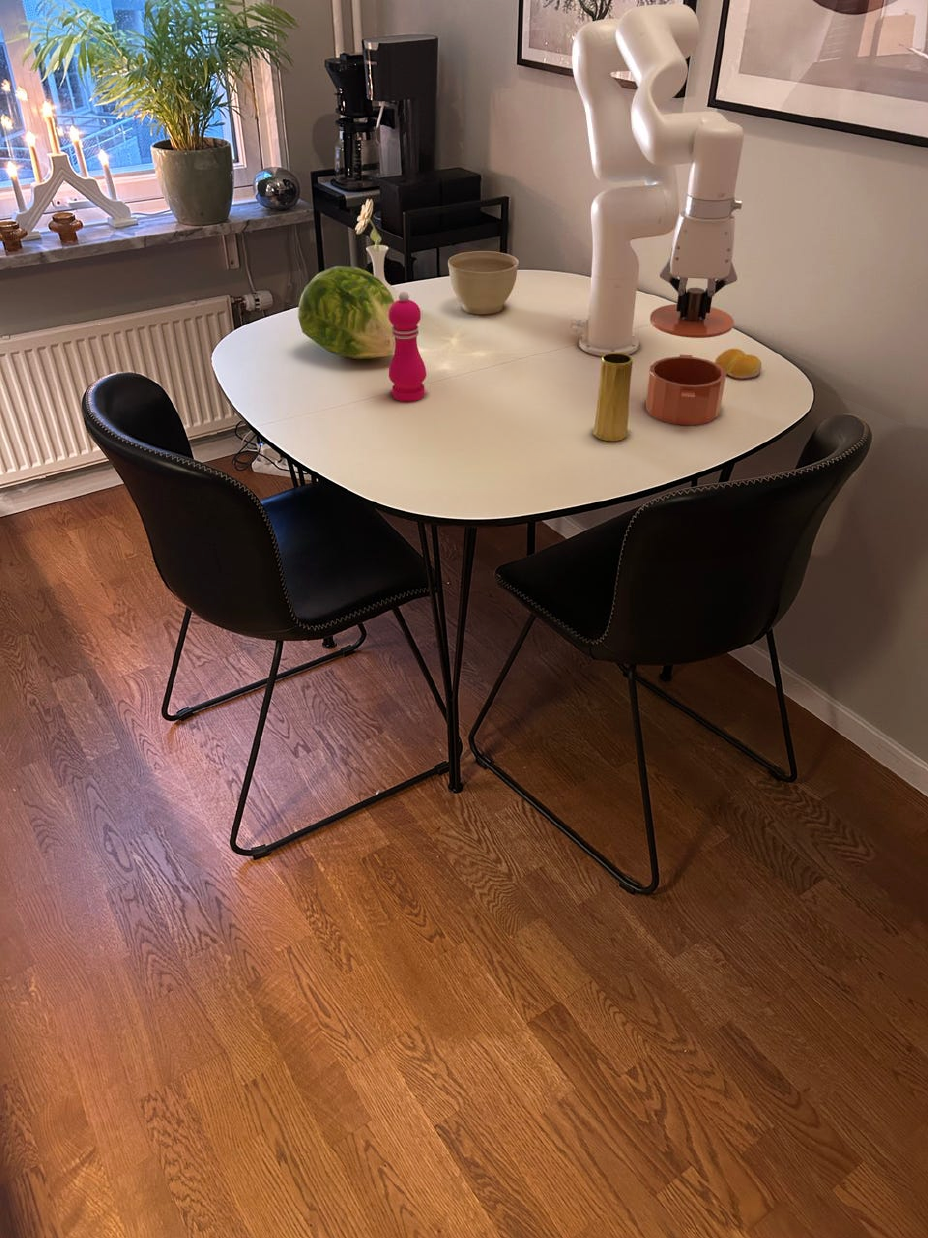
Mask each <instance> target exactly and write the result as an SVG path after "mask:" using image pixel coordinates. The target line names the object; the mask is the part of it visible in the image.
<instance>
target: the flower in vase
mask: <svg viewBox="0 0 928 1238" xmlns="http://www.w3.org/2000/svg"><path fill="white" fill-rule="evenodd" d="M373 211H374V201H373V199H372V198H371V199H369V198H367V199H366V202H365V204H362V206H361V210H360V215H358V216H357V218H356V221H357V222H358V223H357V224H356V225H355V228H354V231H356V233H355V234H356V235H360V234H362V233H363V232H364V231H365V230H366V228H367V226H368V224H369V223H370V224H371V226H372V228H373V229H372V230H371V232H370V234H369V237H370V239H371V240H372V241H373V242H374V243H375V244H374V245H373V244H372V245H369V246H367V247H366V248H365V249H366V251H367V252H368V254H369V256H370V258H371V262H372V266H373V275H374V276H375V277H376V278H378V279H379V280H380V281H381V282H382V283H383V284H384V285H385V286H386V288H387V289H388V290H389V292H390V293H391V295H392V297H393V299H394V302H396V301H398V300H400V299H399V294H400V293H401V291H400V290H398V289H396V287H394V286H393V285H391V284H390V283H388V282H387V280H386V278H385V272H384V271H385V269H384V268H385V267H384V265H385V257H386V254H387V253H388V250H389V247H388V246H387V245H384V244H380V243H381V241H382V237H381V236H380V234H379V232H378V230H377V229H376V226H375V225H374V223H373V221H372V220H371V217H372V215H373Z"/></svg>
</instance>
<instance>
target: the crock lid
mask: <svg viewBox="0 0 928 1238" xmlns="http://www.w3.org/2000/svg"><path fill="white" fill-rule="evenodd" d="M686 291H687V301H686V308H685V314H684V318H680V312H678V311H676V307H677V303H674V304H668V305H667V304H666V305H663V306H660V307H658V308H655V309H654V310H653V311H652V312H651V313H650V315H649V322H650V324H651V325H652V326H653V327H654V328H655V329H657V330H659V331H660V332H663V333H665V334H667V335H668V334H669V335H671V336H672V335H673V336H677V337H682V338H690V339H706V338H707V339H709V338H715V337H719V336H723V335H726V334H728V333H729V332H730V331H732V330H733V327H734V323H735V321H734V318H733V317H732V316H731V315H730V314H729V313H728V312H727V311H724V310H722V309H719V308H716V307H713V306H711V308H710V313H706V317H705V319H702V318H701V312H702V305H703V299H704V293H705V290H704V289H703V288H700V287H690V288H687V289H686Z"/></svg>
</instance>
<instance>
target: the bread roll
mask: <svg viewBox="0 0 928 1238" xmlns="http://www.w3.org/2000/svg"><path fill="white" fill-rule="evenodd" d="M714 363H716V364H719V365H720V366H721V367H722V368H723V369H724V370H725V373H726V375H728V376H729V377H731V378H733V379H738V380H739V379H741V380H743V379H751V378H755V377H757V376H758V375H759V374H760V373H761V369H762V361H761V359H760V358H759V357H757V356H756V355H753V354H746V353H745V352H744V351H743V350H741V349H738V348H730V349H726V350H725V351H723V352H722V353H720V354H719V355H718V356H716V358H715V361H714Z"/></svg>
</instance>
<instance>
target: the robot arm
mask: <svg viewBox="0 0 928 1238" xmlns="http://www.w3.org/2000/svg"><path fill="white" fill-rule="evenodd" d="M699 41H700V23H699V20H698V17H697V15H696V13H695V11H694V10H693V9H692V8H691V7H690V6H688V5H687V4H683V3H669V4H668V3H667V4H666V3H665V4H663V3H662V4H646V5H639V6H635V7H632V8H630V9H628V10H627V11H626V12H624V14H623V15H622V16H621V17H620V18H618V17H617V18H603V19H598V20H594V21H591V22H588V23H586V24H584V25H583V26H581V27H580V28H579V29H578V31H577V32H576V34H575V36H574V39H573V43H572V53H571V64H572V65H571V66H572V72H573V77H574V81H575V85H576V89H577V91H578V93H579V96H580V99H581V101H582V104H583V108H584V113H585V120H586V121H585V122H586V129H587V136H588V145H589V153H590V160H591V166H592V171H593V174H594V176H595V178H596V179H597V180H598V181H600V182H604V183H620V182H621V183H623V182H633V181H643V183H644V185H638V186H637V185H631V186H621V187H614V188H609V189H606V190H603V191H602V192H600V193H598V194H597V195H596V196H595V198H594V199H593V200H592V203H591V206H590V224H591V225H590V226H591V236H592V257H591V258H592V259H591V278H590V290H589V305H588V316H587V317H588V318H587V320H585V321H582V320H579V319H571V321H570V329H571V330H570V331H571V332H572V333H576V334H580V335H581V336H580V338H579V341H578V342H579V343H578V345H579V347H580V349H581V350H582V351H584V352H585V353H588V354H590V355H593V356H599V357H602V356H603V355H605V354H607V353H613V352H619V353H625V354H628V355H631V354H633V353H635V352H636V351H637V350H638V349H639V344H640V343H639V339H638V338H637V337H635V335H633V329H634V320H635V309H636V300H637V299H636V298H637V292H638V291H637V290H638V281H639V273H640V271H639V270H640V260H639V256H638V255H637V252H636V251H635V250H634V248H633V247H632V244H631V241H633V240H637V239H644V238H645V239H646V238H653V237H654V238H655V237H660V236H665V235H668V234H670V233H671V232H673V231H674V233H673V238H672V244H671V249H670V254H669V255H670V256H669V258H668V259H667V261H666V262H665V264H664V265H663V267H662V268H661V269H660V271H659V278H660V279H662V280H663V281H665V282H666V283H669V284H670V285H671V287H672V288H673V289H674V290H675V291H676V292H677V294H678V295H677V300H676V304H677V307H676V311H678V312H680V318H684V314H685V308H686V301H687V285H688V282H689V279H705V280H707V282H706V283H707V284H706V288H705V290H704V291H705V293H704V299H703V305H702V312H701V318H702V319H705V317H706V313H710V308H711V307H712V301H713V297H714V296H715V295H716V294H717V293H718V292H719V291H721V290H722V289H723V288H724V287H726V286H728V285H731V284H733V283H735V282H737V281H738V274H737V272H736V269H735V267H734V264H733V261H732V260H733V255H734V254H733V252H734V244H735V228H736V221H735V220H736V219H735V218H736V217H735V214H734V213H733V212H734V211H736V210H741V209H742V205H743V200H741V199H737V198H736V197H735V192H736V187H737V180H738V174H739V168H740V162H741V157H742V151H743V145H744V138H745V132H744V129H743V127H742V126H741V125H740V124H738V123H736V122H732V121H728V119H727V118H726V117H725V116H724V115H723V114H722V113H721V112H719V111H713V110H712V111H709V110H707V111H706V110H705V111H695V112H694V111H692V112H691V111H690V112H676V113H667V114H662V113H661V112H660V110H659V109H658V107H661V106H662V105H664V104H665V103H666V102H668V101H670V100H671V99H672V98H674V97H675V96H676V95H677V94H678V93H679V92H680V91H681V89H683V87H684V85H685V83H686V81H687V77H688V74H689V68H688V64H687V63H688V62H687V59H688V58H690V57H691V55H693V53H694V52H695V51H696V49H697V47H698V44H699ZM618 72H620V73H621V72H630V74H631V76H632V79H633V80H634V82H635V84H636V86H637V89H636V90H635V93H634V96H633V100H632V103H631V104H630V100H629V98H628V95H627V93H626V91H625V90H624V89H623V87H622V85H620V83H619V82H618V81H617V80H616V79H614V77H613V76H612V75H611V74H612V73H618ZM686 164H690V169H689V178H688V186H687V193H686V199H685V205H684V210H682V211H680V197H679V188H678V180H677V169H676V165H686Z"/></svg>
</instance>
